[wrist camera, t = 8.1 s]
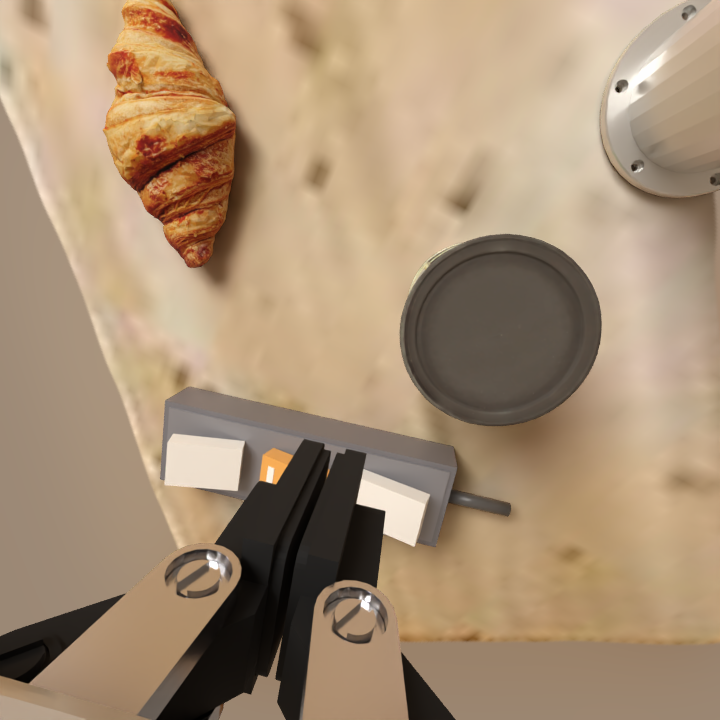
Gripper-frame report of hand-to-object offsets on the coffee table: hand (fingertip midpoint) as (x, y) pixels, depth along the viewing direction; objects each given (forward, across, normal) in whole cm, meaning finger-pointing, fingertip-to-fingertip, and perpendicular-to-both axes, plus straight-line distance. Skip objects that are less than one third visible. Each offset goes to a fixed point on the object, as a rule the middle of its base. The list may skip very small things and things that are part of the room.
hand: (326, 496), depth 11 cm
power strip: (+27, +2, +14) cm, 31 cm away
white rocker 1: (+21, +13, +14) cm, 29 cm away
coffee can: (+27, -6, -3) cm, 28 cm away
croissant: (+28, +20, -12) cm, 36 cm away
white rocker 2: (+21, -3, +14) cm, 26 cm away
